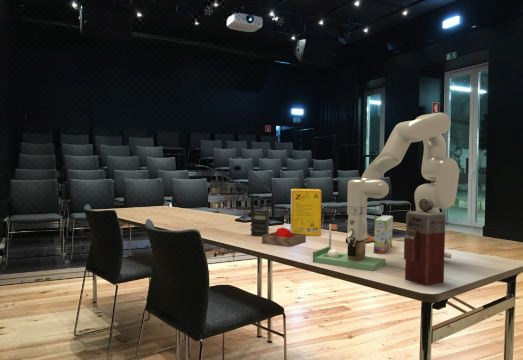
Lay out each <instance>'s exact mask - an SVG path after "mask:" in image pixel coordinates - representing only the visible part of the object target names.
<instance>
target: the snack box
mask: <svg viewBox="0 0 523 360" xmlns="http://www.w3.org/2000/svg"><path fill="white" fill-rule="evenodd" d="M393 223H394V216H393V215H387V214H385V215H383V214H382V215H381V216H379V217H378V218H376V219H375V220H374V236H373V238H374V242H373V253H375V254H382V255H385V254H386V253H387V251H389V250H390V249H391V247H393Z"/></svg>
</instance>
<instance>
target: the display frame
mask: <svg viewBox="0 0 523 360" xmlns="http://www.w3.org/2000/svg"><path fill="white" fill-rule="evenodd" d="M306 242H307V236H306V234H299V233H292V237H291V238H285V237H276V231H275V232H269V234H265V235H262V237H261V244H266V245H272V246H273V245H274V246H279V247H280V246H281V247H288V248H291V247H294V246H298V245H301V244H304V243H306Z"/></svg>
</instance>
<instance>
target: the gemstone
mask: <svg viewBox="0 0 523 360" xmlns="http://www.w3.org/2000/svg"><path fill="white" fill-rule="evenodd" d="M275 232H276V237H285V238H291V237H292V233H291V232H290V229H289V228H286V227H283V226H282V227H279V228H277V229H276V231H275Z"/></svg>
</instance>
